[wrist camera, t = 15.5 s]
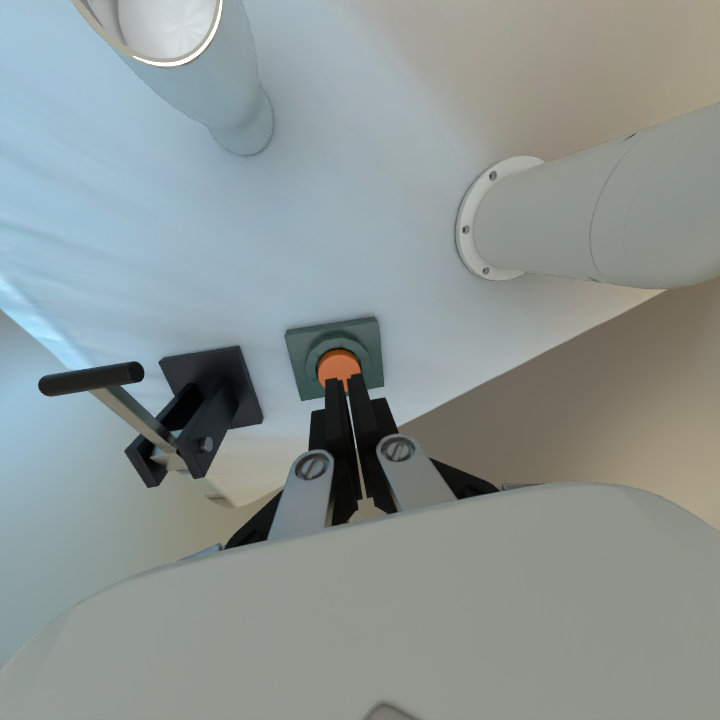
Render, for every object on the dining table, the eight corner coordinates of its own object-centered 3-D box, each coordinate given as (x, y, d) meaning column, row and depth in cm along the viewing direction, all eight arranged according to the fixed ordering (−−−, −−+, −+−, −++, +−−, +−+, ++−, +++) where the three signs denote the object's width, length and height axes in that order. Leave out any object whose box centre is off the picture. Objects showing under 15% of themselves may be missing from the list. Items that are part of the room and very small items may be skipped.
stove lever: (52, 365, 18) (26, 393, 16) (137, 352, 18) (121, 377, 17) (159, 451, 26) (149, 475, 25) (215, 440, 27) (210, 463, 25)
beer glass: (294, 134, 25) (264, 12, 12) (234, 177, 26) (143, 108, 13) (243, 43, 23) (128, -257, 9) (178, 94, 23) (-19, -112, 10)
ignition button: (355, 345, 31) (357, 351, 29) (360, 381, 33) (362, 388, 31) (314, 352, 31) (314, 358, 29) (322, 388, 33) (322, 396, 31)
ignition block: (374, 316, 34) (381, 325, 30) (380, 378, 37) (387, 393, 34) (286, 330, 33) (282, 341, 29) (302, 392, 37) (300, 409, 33)
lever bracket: (163, 357, 32) (74, 423, 21) (239, 345, 33) (195, 402, 21) (197, 430, 37) (141, 517, 25) (263, 418, 37) (238, 497, 26)
